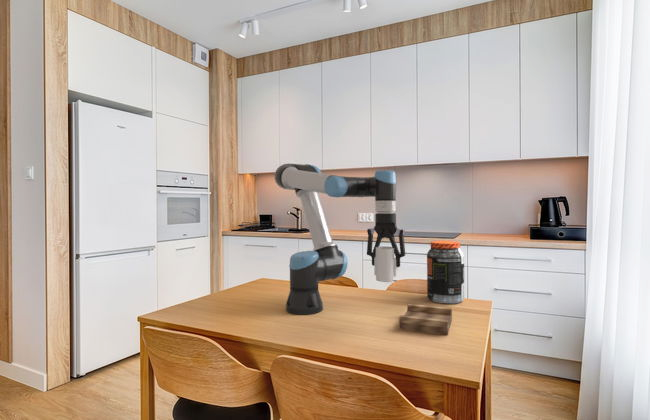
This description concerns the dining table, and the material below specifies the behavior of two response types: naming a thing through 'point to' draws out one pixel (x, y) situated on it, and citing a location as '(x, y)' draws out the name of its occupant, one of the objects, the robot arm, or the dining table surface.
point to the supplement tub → (445, 272)
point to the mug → (384, 264)
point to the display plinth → (426, 328)
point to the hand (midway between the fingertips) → (385, 275)
